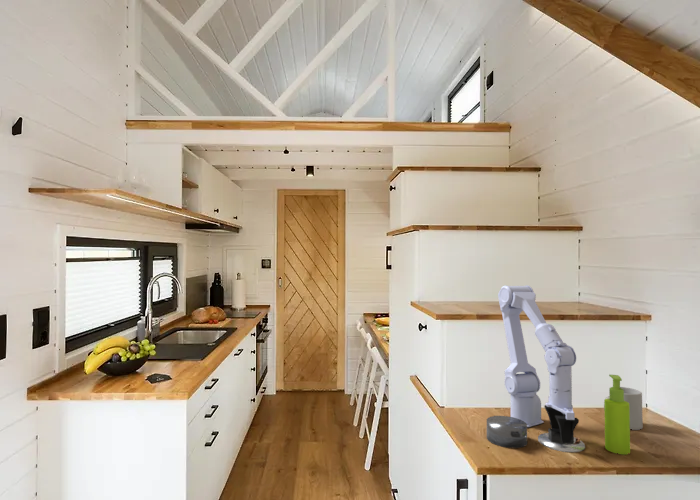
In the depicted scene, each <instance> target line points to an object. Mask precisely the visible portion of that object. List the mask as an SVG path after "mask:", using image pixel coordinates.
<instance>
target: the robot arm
mask: <svg viewBox="0 0 700 500" xmlns="http://www.w3.org/2000/svg"><path fill="white" fill-rule="evenodd" d="M536 295H537V294H536V293H535V292H534V289H533V288H532V287H531V286H530V285H503V286H501V288H500V290H499V291H498V293H497V299H498V302H499V307H500V309H499V310H500V311H501V315H502V321H503V327H504V333H505V338H506V345H507V350H508V356H509V361H510V364H509V366H508V367H507V368H505V369H504V388H505V389H506V391H507V393H508V394H509V395H510V417H514V418H517V419H520V420H522V421H524V422H525V423H526V424H527V428H531V427H534V426H538V425H542V424H543V423H545V422H544V420H542V400H541V398H540V397H539V395H538V394H537V393H538V392H539V391H540V389H541V380H540V378H539V375H538V374H537V370H536V368H535V367H534V366H532V365H531V364H530V363H529V362H528V355H527V351H526V345H525V339H524V335H523V329H522V323H521V318H520V315H521V313H522V312H524V314H525V315H526V317H527V318H528V319H529V321H530V322H531V323H532V324H533V326H534V328H535V330H534V336H535V337H536V338H537V340H538V342H539V343H540V345H541V346H542V349H543V350H544V352H545V354H544V360H545V362H546V365H547V366H546V367H547V370H548V371H547V372H549V374H548V375H549V377H548V378H549V380H548V381H549V395H548V401H547V402H545V405H544V406H543V407H544V409H545V411H546V413H547V416H548V419H549V424H550V428H553V429H560V435H561V440H562V442H563V443H570V442H571V439H572V435H573V432H574V431H575V429H576V427H577V426H578V424H579V421H580V419H578V417H575V416H576V415H575V412H574V408H573V407H574V406H573V394H572V393H573V392H572V391H573V389H572V388H573V387H572V385H573V384H572V382H573V381H572V376H573V375H572V374H573V373H572V371H573V370H572V367H573V366H574V365H576V362H577V354H576V352H575V350H574V348H573V347H572V346H570V345H568V344H567V343H566V342H564V340H562V338H561V336H560V335H559V334H558V332H557V330H556V327H555V326H553V325H552V324H550V323H547V321H546V320H545V318H544V316H543V314H542V312H541V310H540V307H539V306H538V304H537V302H536V298H537V296H536Z"/></svg>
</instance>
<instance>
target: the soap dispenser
mask: <svg viewBox="0 0 700 500" xmlns="http://www.w3.org/2000/svg"><path fill="white" fill-rule="evenodd" d="M608 376H609V378H611V379H612V386H610V387H609V395H608V396H610V399H606V398H605V399H604V402H603V411H604V448H605V450H607V451H608V452H609V453H610V452H611V453H613V454H617V453H618V454H617V455H629V454H630V453H631V430H630V410H629V403H628V402H626V401H624V390H623V389H622V388H620V387H621V382H622V380H623V379H622V378H621V376H620V375H618V374H609V375H608ZM628 453H629V454H628Z"/></svg>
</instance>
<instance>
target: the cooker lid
mask: <svg viewBox="0 0 700 500" xmlns="http://www.w3.org/2000/svg"><path fill="white" fill-rule="evenodd" d="M574 435H575V433H574V432H573V435H572V439H571V442H570V443H563V442H562V440H561V435H560V429H553V428H551V427H548V432H543V433H541V434H539V435H538V436H537V440H538V442H539V444H541V445H542V446H544V447H545V448H548V449H550V450H554V451H559V452H563V453H564V452H565V453H580V452H583V451H585V449H586V445H585V443H584V442H583V441H582V440H581V438H580V437H575V436H574Z"/></svg>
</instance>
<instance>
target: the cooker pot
mask: <svg viewBox="0 0 700 500" xmlns="http://www.w3.org/2000/svg"><path fill="white" fill-rule="evenodd" d="M486 440H487V441H488V442H489V443H491V444H493V445H495V446H498V447H502V448H509V449H520V448H524V447H526V446H527V445H528V427H527V424H526V423H525V422H524V421H522V420H520V419H517V418H514V417H511V416H506V415H492V416H489V417H487V418H486Z"/></svg>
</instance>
